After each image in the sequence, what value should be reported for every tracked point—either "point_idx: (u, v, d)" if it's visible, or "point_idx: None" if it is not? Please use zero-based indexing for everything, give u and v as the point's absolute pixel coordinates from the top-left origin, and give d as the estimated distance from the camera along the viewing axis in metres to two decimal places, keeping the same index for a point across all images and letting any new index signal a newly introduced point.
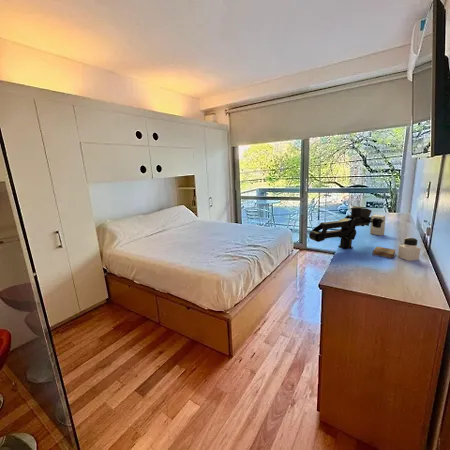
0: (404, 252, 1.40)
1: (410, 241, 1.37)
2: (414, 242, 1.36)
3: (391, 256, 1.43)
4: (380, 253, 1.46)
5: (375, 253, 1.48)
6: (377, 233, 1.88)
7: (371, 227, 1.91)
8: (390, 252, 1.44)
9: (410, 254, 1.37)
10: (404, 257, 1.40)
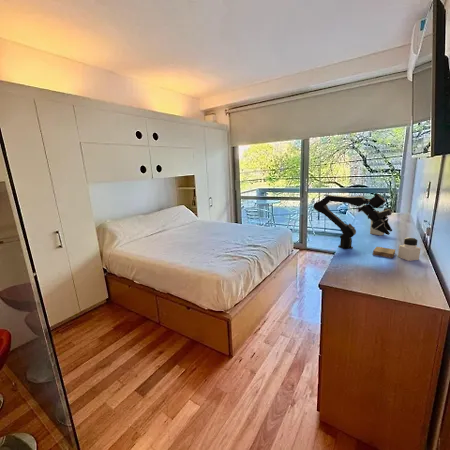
0: (404, 252, 1.40)
1: (410, 241, 1.37)
2: (414, 242, 1.36)
3: (391, 256, 1.43)
4: (380, 253, 1.46)
5: (375, 253, 1.48)
6: (377, 233, 1.88)
7: (371, 227, 1.91)
8: (390, 252, 1.44)
9: (410, 254, 1.37)
10: (404, 257, 1.40)
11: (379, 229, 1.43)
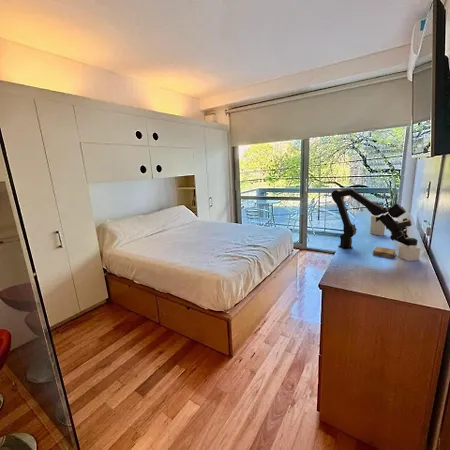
0: (404, 252, 1.40)
1: (410, 241, 1.37)
2: (414, 242, 1.36)
3: (391, 256, 1.43)
4: (380, 253, 1.46)
5: (375, 253, 1.48)
6: (377, 233, 1.88)
7: (371, 227, 1.91)
8: (390, 252, 1.44)
9: (410, 254, 1.37)
10: (404, 257, 1.40)
11: (399, 240, 1.39)
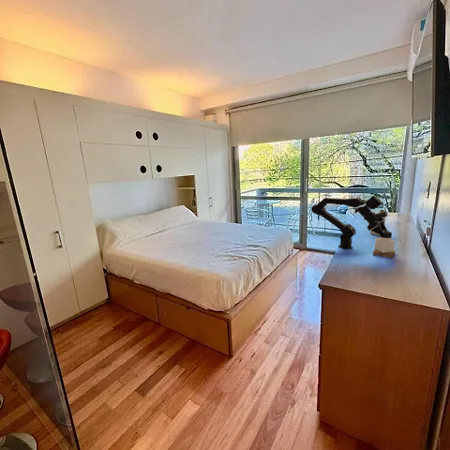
0: (379, 244, 1.47)
1: (385, 234, 1.44)
2: (388, 235, 1.44)
3: (391, 256, 1.43)
4: (380, 253, 1.46)
5: (375, 253, 1.48)
6: None
7: None
8: (390, 253, 1.44)
9: (385, 246, 1.44)
10: (379, 249, 1.47)
11: (375, 230, 1.45)
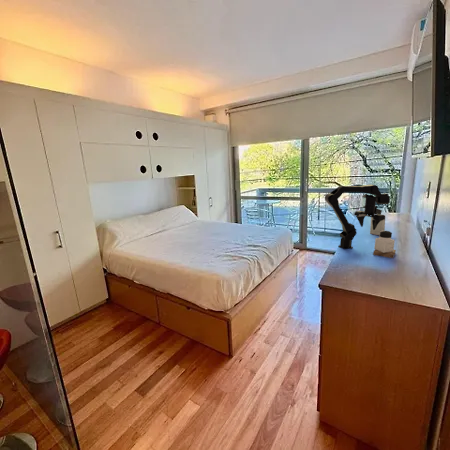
0: (379, 244, 1.47)
1: (385, 234, 1.44)
2: (389, 235, 1.43)
3: (392, 256, 1.43)
4: (380, 253, 1.46)
5: (375, 253, 1.48)
6: (377, 233, 1.88)
7: (371, 227, 1.91)
8: (390, 253, 1.44)
9: (386, 246, 1.44)
10: (380, 249, 1.47)
11: (375, 222, 1.52)
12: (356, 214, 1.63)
